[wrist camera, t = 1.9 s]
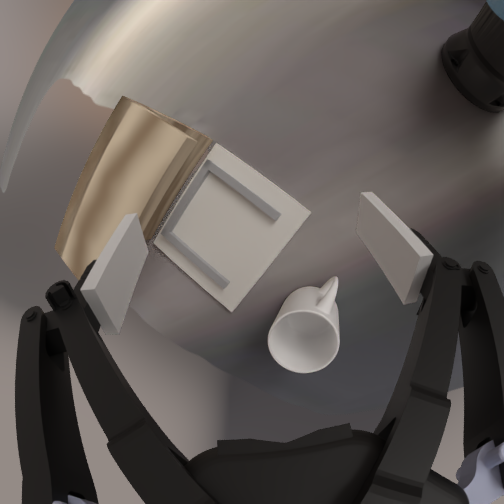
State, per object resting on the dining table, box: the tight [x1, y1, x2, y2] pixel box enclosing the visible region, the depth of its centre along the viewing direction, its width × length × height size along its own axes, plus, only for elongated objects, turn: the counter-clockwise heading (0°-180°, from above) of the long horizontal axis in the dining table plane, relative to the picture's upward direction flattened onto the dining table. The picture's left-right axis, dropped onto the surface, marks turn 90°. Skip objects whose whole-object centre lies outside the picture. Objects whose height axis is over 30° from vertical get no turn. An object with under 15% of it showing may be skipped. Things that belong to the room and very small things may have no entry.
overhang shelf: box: [55, 96, 213, 280], centre depth 34 cm, size 10×20×20 cm, turn 143°
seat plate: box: [154, 143, 311, 312], centre depth 42 cm, size 18×20×2 cm
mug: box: [268, 276, 340, 373], centre depth 36 cm, size 9×12×11 cm
